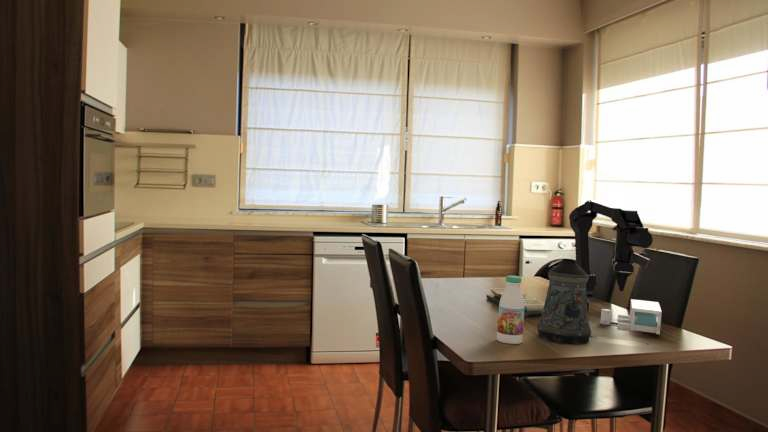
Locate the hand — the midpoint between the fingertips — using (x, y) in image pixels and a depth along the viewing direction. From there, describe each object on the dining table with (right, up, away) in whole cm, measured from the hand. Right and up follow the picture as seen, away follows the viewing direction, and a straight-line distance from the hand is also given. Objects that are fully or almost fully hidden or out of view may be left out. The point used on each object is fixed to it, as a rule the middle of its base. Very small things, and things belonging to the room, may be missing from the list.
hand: (620, 289), depth 220 cm
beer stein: (-26, -13, -18) cm, 35 cm away
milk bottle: (-44, -13, -28) cm, 54 cm away
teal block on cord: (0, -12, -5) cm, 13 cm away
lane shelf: (+1, -14, -1) cm, 14 cm away
